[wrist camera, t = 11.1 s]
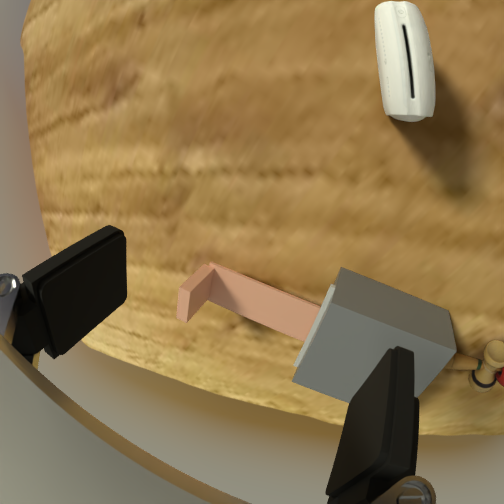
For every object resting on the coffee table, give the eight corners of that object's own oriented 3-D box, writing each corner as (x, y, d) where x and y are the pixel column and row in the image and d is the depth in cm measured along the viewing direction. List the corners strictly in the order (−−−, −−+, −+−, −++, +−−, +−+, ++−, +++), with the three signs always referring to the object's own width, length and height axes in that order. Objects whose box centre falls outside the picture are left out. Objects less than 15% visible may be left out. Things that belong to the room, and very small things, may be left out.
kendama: (418, 366, 42) (515, 379, 33) (415, 390, 37) (521, 404, 28) (430, 322, 40) (532, 337, 31) (430, 343, 35) (542, 358, 26)
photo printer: (372, 30, 26) (368, -9, 15) (410, 30, 24) (426, -7, 14) (382, 119, 30) (386, 123, 19) (420, 121, 28) (443, 126, 18)
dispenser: (448, 310, 35) (456, 351, 29) (399, 378, 42) (396, 418, 36) (336, 265, 39) (325, 300, 32) (302, 341, 46) (287, 379, 39)
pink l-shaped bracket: (336, 312, 37) (327, 347, 32) (319, 345, 40) (308, 380, 35) (206, 259, 41) (179, 283, 36) (200, 294, 44) (176, 320, 39)
